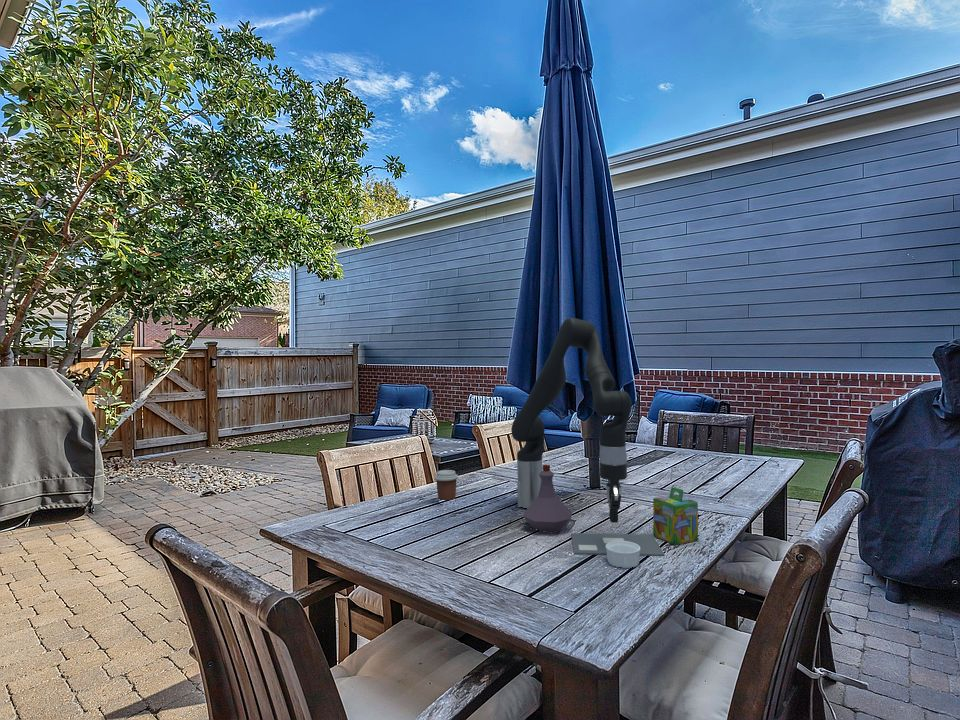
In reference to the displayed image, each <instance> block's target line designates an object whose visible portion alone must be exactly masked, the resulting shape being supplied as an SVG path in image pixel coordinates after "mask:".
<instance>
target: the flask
mask: <svg viewBox="0 0 960 720" xmlns="http://www.w3.org/2000/svg"><path fill="white" fill-rule="evenodd" d="M554 475H555V472H553V471H552V470H551V465H550V464H542V472H540V473H539V476H540V478H541V486H540V491H539V495H538V497H537V498H536V499H535V501H534V502H533V503H532V504H531V505H530V506H529V507H528V508H527V509H525V511H524V513H523V515H522V517H523V519H525V521H526V522H527V524H529V525H530V527H531V528H532V529H533V528H535V529H537V530H536V531H538V530H539V531H538V532H540V531H545V532H544V533H551V532H552V533H556V532H560V531H562V530H563V529H564V527H566V525H567V524H568V523H569V522H570V520H572V516H573V512H572V511H571V509H569V508H568V507H567V506H566V505H565V504H564V503H563V502H562V501H561V500H560V498H559V497H558V495H557V494H556V490H555V487H554V483H553V478H554ZM535 529H534V530H535ZM559 530H560V531H559ZM555 531H556V532H555Z"/></svg>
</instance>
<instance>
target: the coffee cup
mask: <svg viewBox="0 0 960 720" xmlns="http://www.w3.org/2000/svg"><path fill="white" fill-rule="evenodd" d="M433 478H434V480H435V481H436V482H435V483H436V489H437V491H436V492H437V500H438V499H440V500H445V501H446V500H453V499H455V500H456V498H457V497H456V495H457V494H456V493H457V479H459V475H458V474H457V473H456V471H455V470H451V469H441V470H438V471H437V472H436V475H434V477H433Z"/></svg>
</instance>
